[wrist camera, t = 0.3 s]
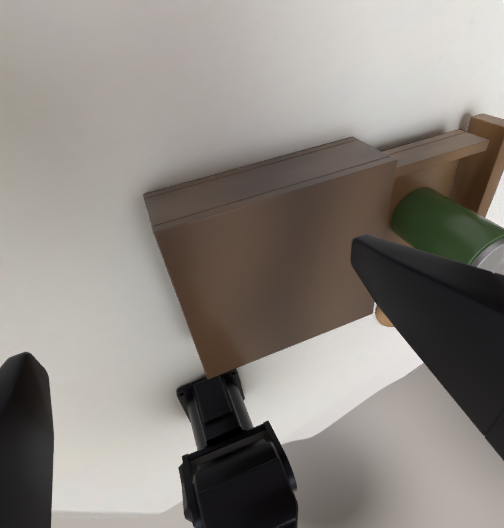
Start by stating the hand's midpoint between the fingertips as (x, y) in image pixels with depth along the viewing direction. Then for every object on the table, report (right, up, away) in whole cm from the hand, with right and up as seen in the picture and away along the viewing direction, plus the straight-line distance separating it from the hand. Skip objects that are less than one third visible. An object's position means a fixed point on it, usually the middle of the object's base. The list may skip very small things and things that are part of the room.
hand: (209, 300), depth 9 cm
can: (+15, +5, +20) cm, 25 cm away
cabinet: (+2, +2, +19) cm, 19 cm away
